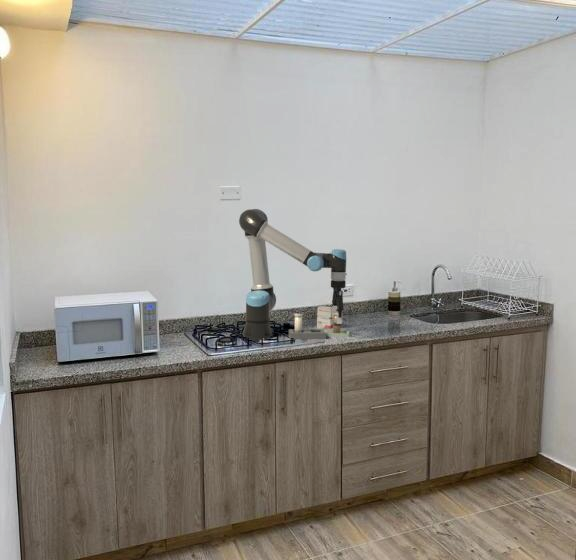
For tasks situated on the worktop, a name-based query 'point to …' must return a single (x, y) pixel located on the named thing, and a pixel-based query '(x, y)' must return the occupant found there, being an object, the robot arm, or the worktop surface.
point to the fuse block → (307, 334)
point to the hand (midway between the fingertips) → (337, 320)
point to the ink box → (324, 317)
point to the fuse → (298, 322)
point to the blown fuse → (336, 326)
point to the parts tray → (343, 334)
